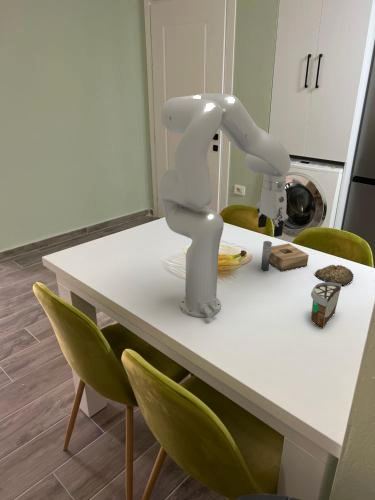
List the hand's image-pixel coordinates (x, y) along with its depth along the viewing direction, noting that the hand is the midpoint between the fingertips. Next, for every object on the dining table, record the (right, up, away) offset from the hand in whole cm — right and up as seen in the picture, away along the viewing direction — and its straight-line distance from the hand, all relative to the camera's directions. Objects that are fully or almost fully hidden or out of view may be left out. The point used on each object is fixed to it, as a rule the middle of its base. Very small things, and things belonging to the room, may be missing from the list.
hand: (269, 231), depth 134 cm
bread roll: (+24, -17, +1) cm, 30 cm away
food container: (+9, -27, -23) cm, 37 cm away
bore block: (+8, -12, +11) cm, 18 cm away
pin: (-1, -14, +6) cm, 15 cm away
